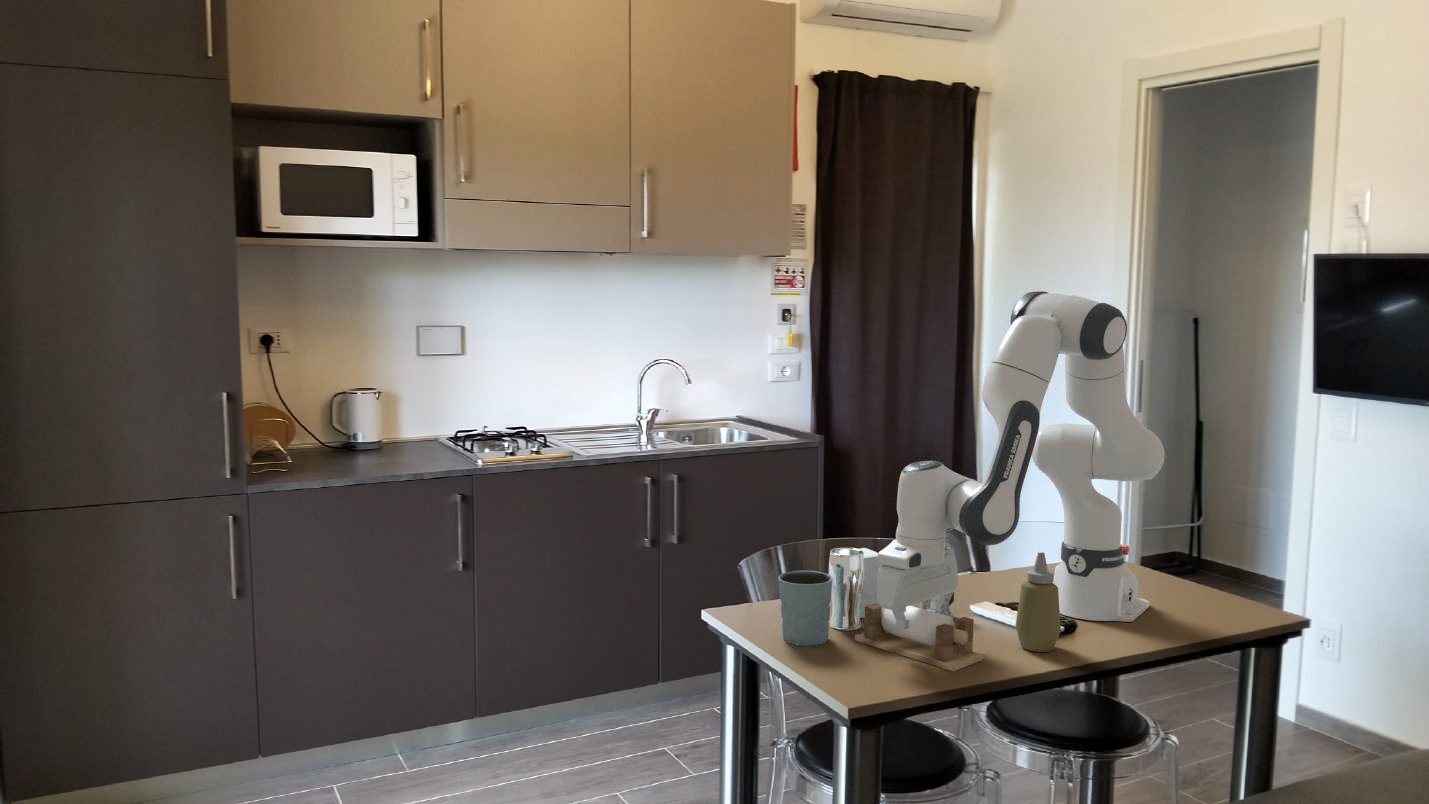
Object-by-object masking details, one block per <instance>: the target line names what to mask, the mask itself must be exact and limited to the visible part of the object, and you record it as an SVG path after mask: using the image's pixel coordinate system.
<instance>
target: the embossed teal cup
mask: <svg viewBox="0 0 1429 804" xmlns="http://www.w3.org/2000/svg"><path fill="white" fill-rule="evenodd" d="M777 580H778V587H779V588H778V589H779V590H778V591H779V599H780V611H781V613H780V614H781V615H780V616H781V619H782V623H781V625H782V628H781V629H782V638H783V640H784V642H786V641H787V642H786V643H788V642H789V643H788V644H791V643H792V644H791V645H794V644H798V645H797V646H800V645H806V646H805V647H813V646H812V645H816V646H820V645H824V644H825V643H827V642H828V640H829V627H830V617H831V616H830V614H831V604H830V603H831V602H832V598H831V591H832V581H833V578H832V577H831V576H830V575H829V573H825V572H822V571H817V570H793V571H786V572H783V573H781V574H779V576H778V579H777ZM819 644H820V645H819ZM809 645H811V646H809Z"/></svg>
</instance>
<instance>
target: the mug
mask: <svg viewBox="0 0 1429 804" xmlns="http://www.w3.org/2000/svg"><path fill="white" fill-rule="evenodd" d="M931 602H932V599H929V600H926V601H923V602H920V604H919V607H920V609H924V610H927V609H929V608H930V605H931ZM954 605H955V591H954V592H952V593H948V594H945V595H944V601H943V604H942V606H941V608H940V614H943V615H946V616H950V617H951V618H952V619H953V620H954V614H955V613H954V609H955V608H954V607H955V606H954Z"/></svg>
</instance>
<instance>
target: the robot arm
mask: <svg viewBox="0 0 1429 804" xmlns="http://www.w3.org/2000/svg"><path fill="white" fill-rule="evenodd" d="M1127 332H1128V324H1127V320H1126V318H1125V316H1124V314H1123V312H1122V311H1121V310H1120V309H1119V308H1117V307H1116V306H1114V305H1112V304H1109V303H1106V302H1098V301H1095V300H1093V299H1090V298H1085V297H1082V296H1078V295H1068V294H1067V295H1066V294H1059V293H1049V292H1047V291H1042V290H1041V291H1039V290H1038V291H1029V292H1027V293H1025V294H1024V295H1023V296H1021V297H1020V298H1019V299H1017V301H1016V302H1015V304H1014V306H1013V308H1012V311H1011V314H1010V326H1009V327H1008V329H1007V331H1006V332H1005V334H1004V336H1003V337H1002V339H1001V341H1000V343H999V344H998V347H996V348H997V349H996V351H995V352H994V355H993V357H992V360H991V361H990V364H989V366H988V369H987V372H986V374H985V376H984V381H983V385H982V391H981V397H982V401H983V403H984V406H985V407H986V409H987V411H988V412H989V414H990V415H991V416H992V418H993V419H994V422H995V425H996V426H997V441H996V446H995V448H994V451H993V455H992V457H991V460H990V461H991V462H990V465H989V468H988V471H987V475H986V477H985V479H984V481H983V482H980V481H977V480H976V479H973V478H969V477H967V476H965V475H961V474H959V473H957V472H955V471H953V470H952V469H950V468H948V467H947V466H945V465H944V463H942V462H941V461H936V460H921V461H915V462H912V463H909V464H908V465H906V466H905V467H904V468H903V469H902V470H901V473H900V475H899V481H898V487H897V497H896V499H897V500H896V511H897V516H898V523H897V527H896V531H895V539H893V540H891V542H890V543H889V544H888V545H887V546H886V547H884V548H883V549H881V550H880V551H879V552H877V553H878V563H880V564H883V565H882V566H881V567H880V569H879V571H878V577H877V601H878V603H879V605H880V606H881V607H883V608H884V609H885V608H886V609H890V610H892V612H893V615H894V617H895V619H896V628H897V629H899V630H905V629H908V628H909V626H908V624H909V620H907V619H906V618H905V615H904V612H906V607H907V606H913V605H916V604H919V603H920V602H923V601H926V600H929V599H932V602H931V605H930V608H929V609H927V610H928V611H931V612H935V613H939V614H940V608H941V606H942V604H943V601H944V595H945V594H948V593H952V592H954V593H955V592H956V590H957V588H958V584H959V583H958V582H959V575H958V562H957V558H956V555H955V549H954V547H953V546H952V545H951V544H950V543H948V542H946V532H947V530H949V529H955V530H957V531H958V532H961V533H963V534H964V535H966V536H967V537H969V538H970V539H972V540H973V542H975V543H977V544H980V545H982V546H996V545H998V544H1001V543H1004V541H1006V540H1008V539H1009V538H1010V537H1011V536H1012V535H1013V533H1014V532H1015V530H1016V528H1017V527H1018V525H1019V521H1020V520H1019V519H1020V512H1021V510H1020V507H1021V506H1020V505H1021V493H1022V489H1023V485H1024V483H1025V479H1026V476H1027V472H1028V470H1029V465H1030V463H1031V459H1032V461H1033V463H1034V464H1035V466H1036V468H1038V470H1040V471H1041V473H1043V474H1044V475H1045V476H1047V478H1048V479H1049V480H1050V481H1051V483H1053V485H1054V486H1055V488H1056V490H1057V492H1058V494H1059V496H1060V499H1061V503H1062V508H1063V525H1064V526H1063V527H1064V528H1063V529H1064V530H1063V541H1062V542H1061V547H1060V559H1061V562H1060V563H1059V564H1057V565H1056V566H1055V568H1054V576H1053V583H1054V584H1055V585H1056V586H1057V587H1058V593H1059V610H1060V615H1063V616H1067V617H1070V618H1074V619H1080V620H1087V621H1095V622H1112V621H1113V622H1114V621H1115V622H1128V623H1130V622H1131V623H1132V622H1134V621H1135V620H1137V618H1138V617H1140V615H1142V614H1143V613H1144V612H1145V611H1146V610H1148V609H1149V607H1150V605H1151V603H1150V601H1149V600H1148V599H1144V598H1142V597H1139V580H1138V578H1137V577H1136V575H1134V573H1132V572H1131V571H1130V569H1129V568H1128V567H1127V566H1126V565H1125V556H1129V554H1130V546H1129V544H1127V545H1125V544H1124V545H1123V544H1121V541H1122V540H1121V539H1122V521H1123V519H1122V518H1123V515H1122V514H1123V513H1122V511H1121V509H1120V507H1119V505H1118V504H1117V503H1115V502H1114V501H1113V500H1112V499H1110V498H1109V497H1107V496H1105V495H1103V494H1102V493H1100V492H1098V490H1097V489H1095V487H1094V484H1093V482H1092V480H1107V481H1116V482H1117V481H1118V482H1137V481H1138V482H1140V481H1146V480H1147V481H1148V480H1153V479H1154V478H1155V477H1156V476H1157V475H1158V474H1159V473H1160V471H1161V469H1162V468H1163V465H1164V462H1165V456H1166V455H1165V449H1164V445H1163V443H1162V441H1161V439H1160V438H1159V437H1158V435H1157V434H1156V433H1155V432H1153V431H1151V430H1150V429H1148V428H1147V427H1146V426H1145V425H1143V424H1142V423H1141V422H1140V421H1139V420H1138V418H1137V417H1136V416H1135V415H1134V413H1133V412H1132V409H1131V408H1130V406H1129V403H1128V399H1127V391H1126V381H1125V379H1126V377H1125V374H1126V373H1125V352H1124V351H1125V350H1124V344H1125V341H1126V337H1127ZM1059 354H1060V355H1062V354H1064V356H1065V357H1064V369H1065V370H1064V372H1065V375H1064V376H1065V398H1066V403H1067V404H1068V406H1069V407H1070V409H1071V410H1072V411H1073V412H1074V414H1076V415H1078V416H1079V417H1081V418H1083V419H1085V420H1086V421H1088V422H1090V423H1091V424H1078V423H1077V424H1075V423H1057V424H1049V425H1043V426H1042V427H1040V422H1041V420H1040V419H1041V417H1040V416H1041V415H1040V414H1041V410H1042V405H1043V402H1044V400H1045V395H1046V394H1047V391H1048V389H1049V385H1050V383H1051V379H1052V377H1053V375H1054V371H1055V368H1056V365H1057V361H1058V357H1059Z"/></svg>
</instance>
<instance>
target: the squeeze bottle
mask: <svg viewBox="0 0 1429 804" xmlns="http://www.w3.org/2000/svg"><path fill="white" fill-rule="evenodd" d="M1035 558H1036V559H1035V562H1034V566H1033V569H1029V570H1027V572H1026V580H1025V581H1024V582H1022V584H1021V586H1020V594H1019V598H1018V606H1017V613H1016V619H1015V630H1016V633H1017V637H1018V641H1019V643H1020V647H1021V648H1022V649H1025V650H1028V651H1030V652H1040V653H1044V652H1047V653H1048V652H1052V651H1054V649H1055V646H1056V643H1057V641H1058V640H1059V637H1060V633H1061V629H1062V627H1061V613H1060V610H1059V593H1058V587H1057V586H1056V585H1055V584H1054V575H1055V573H1053V572H1052V571H1051V570H1048V565H1047V561H1046V554H1045V552H1043V551H1039V552H1037V555H1036V557H1035Z"/></svg>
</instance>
